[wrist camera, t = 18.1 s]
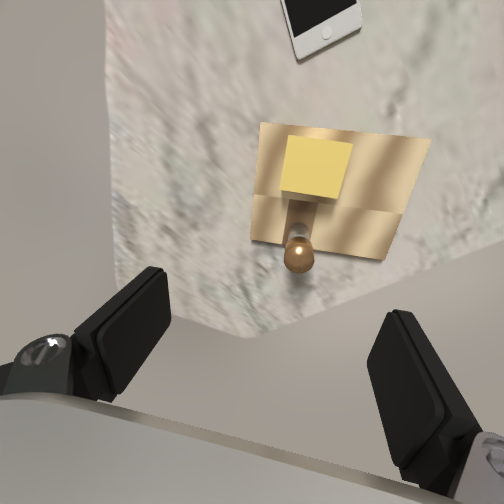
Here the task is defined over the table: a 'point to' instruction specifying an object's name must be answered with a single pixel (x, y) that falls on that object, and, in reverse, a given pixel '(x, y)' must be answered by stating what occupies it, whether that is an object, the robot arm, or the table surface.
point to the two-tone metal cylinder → (298, 249)
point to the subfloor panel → (350, 196)
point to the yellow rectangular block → (314, 166)
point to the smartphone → (320, 22)
